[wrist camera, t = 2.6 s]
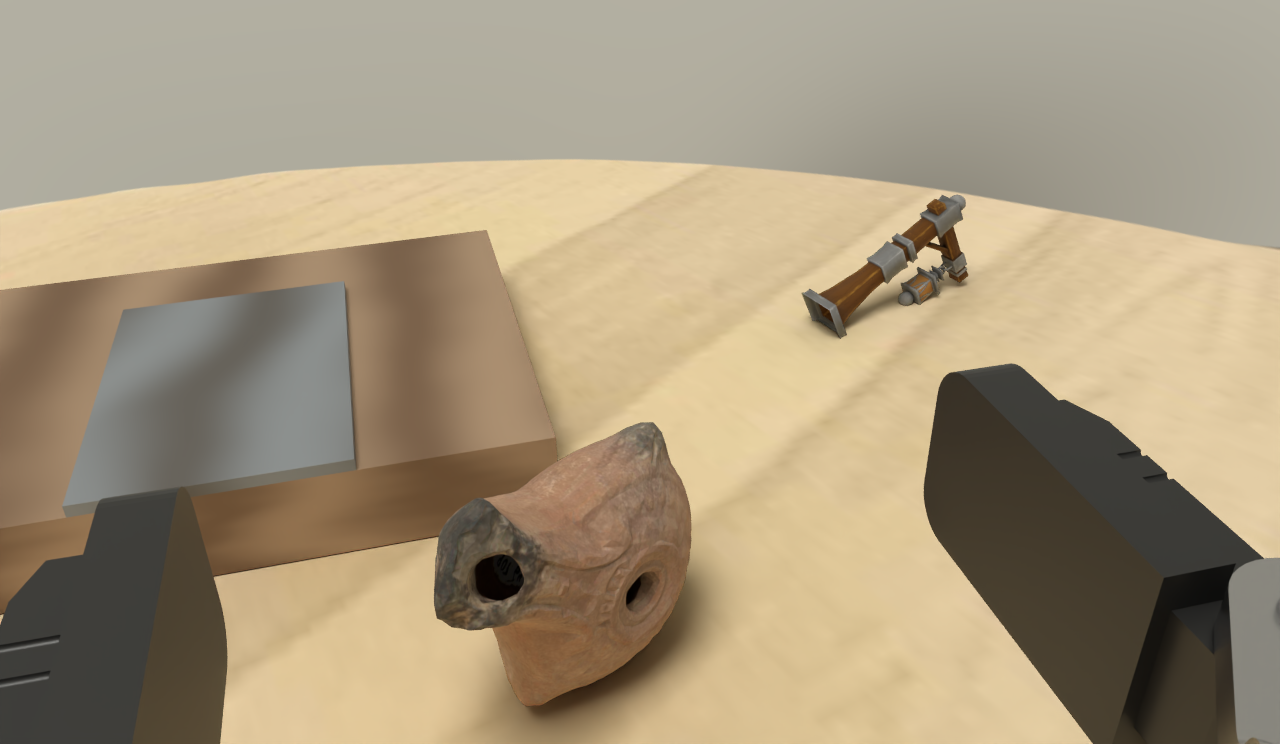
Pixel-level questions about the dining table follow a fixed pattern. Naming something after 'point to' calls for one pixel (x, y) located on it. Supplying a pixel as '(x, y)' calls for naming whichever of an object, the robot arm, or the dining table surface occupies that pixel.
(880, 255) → the wooden blunderbuss cannon
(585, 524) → the oil lamp
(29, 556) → the wooden block
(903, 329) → the dining table surface
